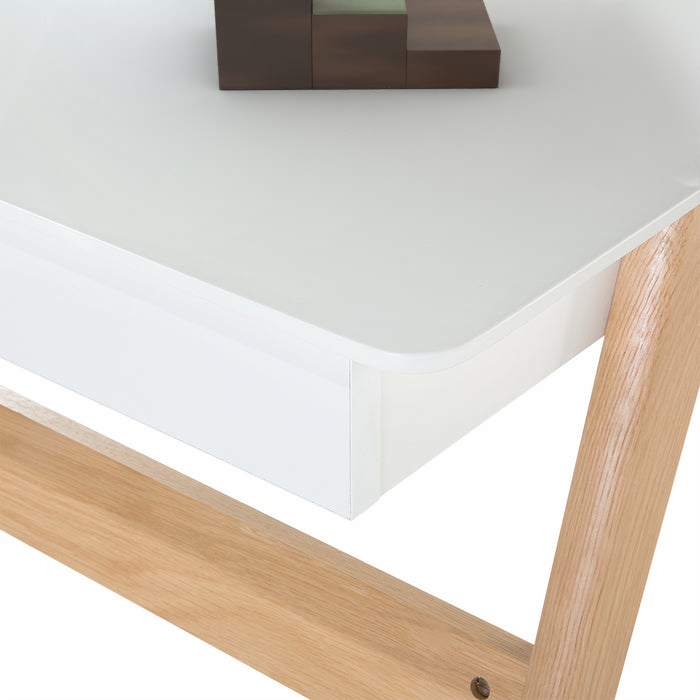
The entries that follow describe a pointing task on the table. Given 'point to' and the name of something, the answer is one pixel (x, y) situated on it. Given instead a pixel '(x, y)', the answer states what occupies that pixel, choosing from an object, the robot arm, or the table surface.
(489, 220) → the table surface
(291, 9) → the stepped wooden block
